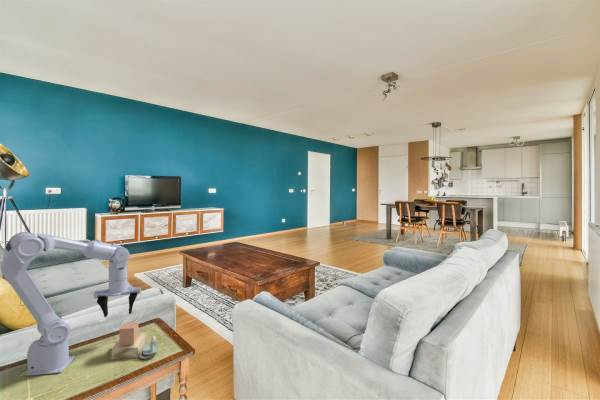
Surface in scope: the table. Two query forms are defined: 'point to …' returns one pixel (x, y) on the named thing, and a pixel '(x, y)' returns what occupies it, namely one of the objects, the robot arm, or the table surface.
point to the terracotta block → (128, 333)
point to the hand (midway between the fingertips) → (118, 314)
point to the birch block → (128, 349)
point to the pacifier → (149, 349)
